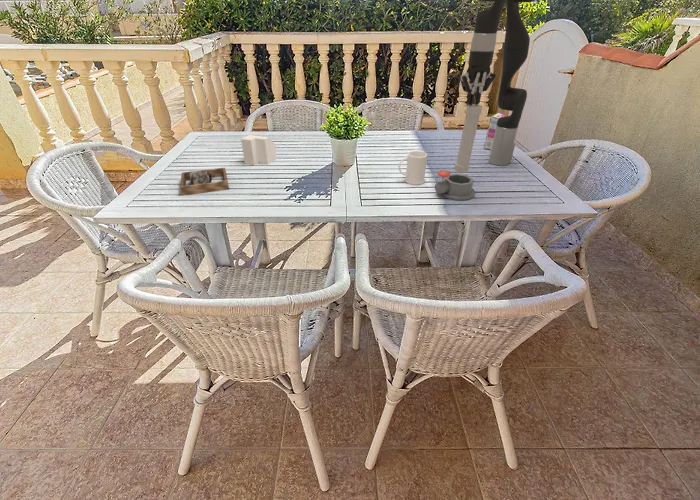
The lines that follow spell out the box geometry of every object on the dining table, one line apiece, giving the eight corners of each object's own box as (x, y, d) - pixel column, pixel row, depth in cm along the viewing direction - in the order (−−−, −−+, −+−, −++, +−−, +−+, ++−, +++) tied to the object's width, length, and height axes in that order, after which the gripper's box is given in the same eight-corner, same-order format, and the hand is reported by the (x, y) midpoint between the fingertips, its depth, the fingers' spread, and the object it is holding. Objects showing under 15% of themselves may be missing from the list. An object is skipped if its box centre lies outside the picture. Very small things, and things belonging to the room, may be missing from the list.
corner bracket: (245, 163, 176) (240, 138, 169) (258, 156, 185) (255, 132, 178) (264, 167, 173) (260, 141, 166) (276, 159, 181) (274, 134, 175)
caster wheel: (204, 183, 163) (218, 185, 158) (181, 187, 154) (195, 189, 149) (202, 168, 161) (217, 169, 155) (178, 171, 152) (193, 172, 147)
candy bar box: (492, 150, 191) (500, 118, 182) (483, 149, 193) (490, 116, 184) (499, 145, 199) (506, 113, 189) (490, 143, 201) (497, 112, 192)
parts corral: (226, 174, 165) (225, 167, 163) (229, 189, 152) (227, 181, 150) (183, 180, 160) (181, 172, 158) (182, 195, 147) (180, 187, 145)
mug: (398, 185, 156) (400, 157, 149) (396, 177, 163) (398, 150, 156) (426, 185, 156) (429, 157, 149) (423, 177, 163) (426, 150, 156)
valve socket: (461, 183, 156) (465, 161, 151) (481, 197, 145) (487, 174, 140) (426, 189, 152) (429, 167, 146) (444, 204, 141) (448, 180, 135)
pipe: (468, 173, 141) (487, 90, 124) (452, 172, 142) (468, 88, 125) (468, 168, 146) (485, 87, 129) (451, 167, 147) (467, 86, 130)
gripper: (492, 47, 125) (482, 100, 135) (457, 48, 121) (449, 103, 131) (507, 49, 119) (495, 105, 129) (471, 51, 115) (461, 108, 125)
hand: (472, 104), depth 130 cm, fingers closed on pipe, 2 cm apart
